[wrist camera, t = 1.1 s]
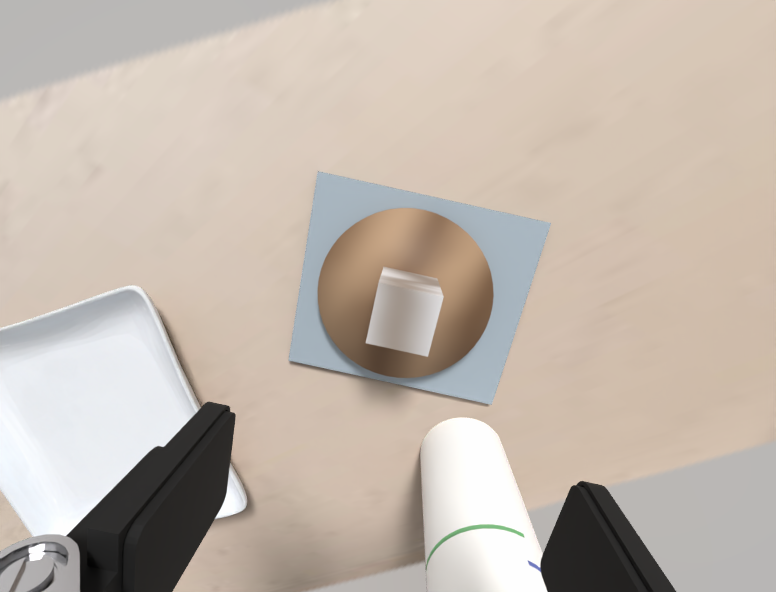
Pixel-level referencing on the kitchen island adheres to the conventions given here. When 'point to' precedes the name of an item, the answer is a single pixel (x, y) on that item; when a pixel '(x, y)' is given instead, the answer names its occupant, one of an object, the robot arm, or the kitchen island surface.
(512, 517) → the cylindrical container
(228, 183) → the kitchen island surface
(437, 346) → the lid
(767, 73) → the kitchen island surface
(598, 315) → the kitchen island surface
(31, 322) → the salad plate
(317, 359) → the mat
